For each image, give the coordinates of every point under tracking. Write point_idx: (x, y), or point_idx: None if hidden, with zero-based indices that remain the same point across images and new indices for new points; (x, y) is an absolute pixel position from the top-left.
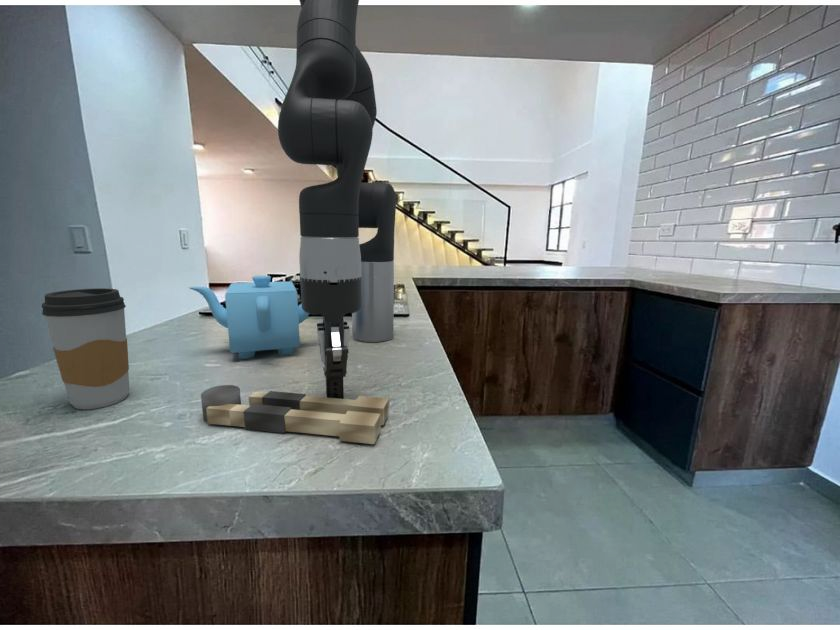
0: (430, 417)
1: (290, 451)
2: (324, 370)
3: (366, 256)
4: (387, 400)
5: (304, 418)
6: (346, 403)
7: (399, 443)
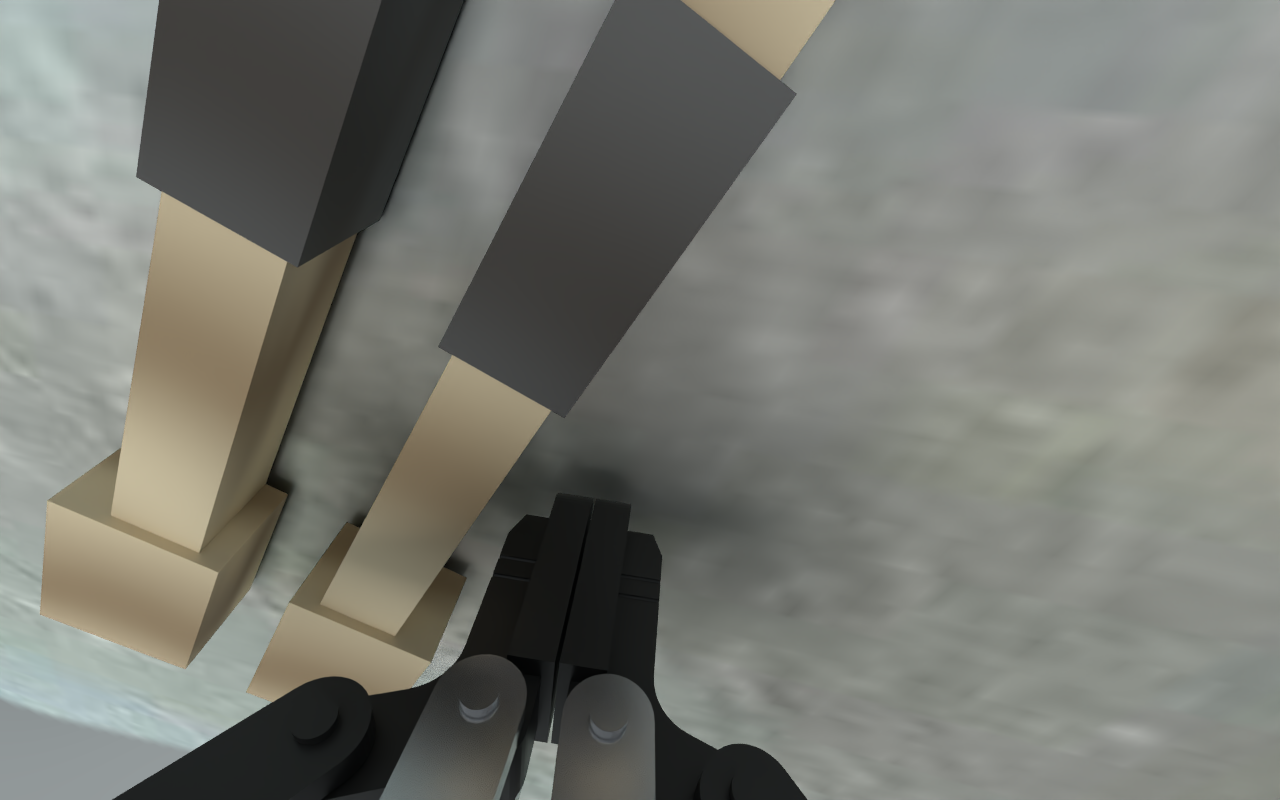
0: None
1: (43, 156)
2: (600, 701)
3: None
4: None
5: (148, 328)
6: (353, 587)
7: None
